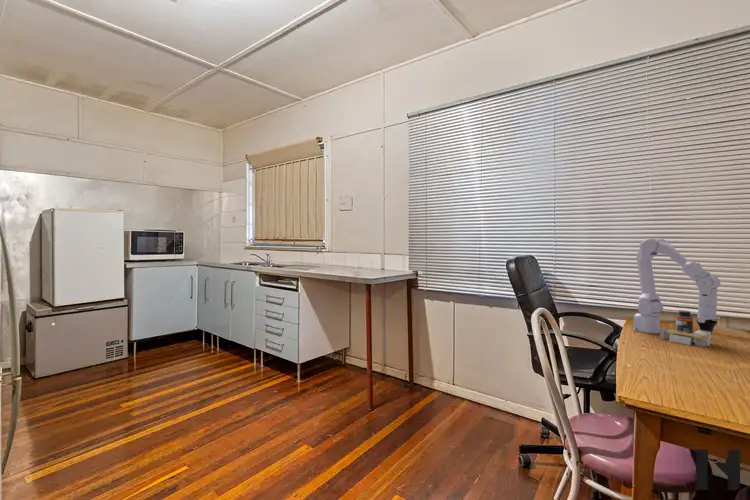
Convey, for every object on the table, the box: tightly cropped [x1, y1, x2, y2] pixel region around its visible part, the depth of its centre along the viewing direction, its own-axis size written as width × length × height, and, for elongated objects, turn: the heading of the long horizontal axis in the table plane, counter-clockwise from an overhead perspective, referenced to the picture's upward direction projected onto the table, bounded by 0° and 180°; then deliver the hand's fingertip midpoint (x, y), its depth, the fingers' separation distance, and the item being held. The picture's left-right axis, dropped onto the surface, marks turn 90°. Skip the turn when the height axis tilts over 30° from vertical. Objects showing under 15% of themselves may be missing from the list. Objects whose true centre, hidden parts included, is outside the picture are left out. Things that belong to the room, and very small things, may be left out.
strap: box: [665, 329, 704, 338], centre depth 160 cm, size 13×2×1 cm, turn 35°
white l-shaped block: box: [693, 329, 712, 347], centre depth 155 cm, size 4×7×5 cm, turn 125°
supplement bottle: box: [675, 309, 694, 334], centre depth 175 cm, size 6×6×11 cm
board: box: [659, 326, 707, 348], centre depth 160 cm, size 16×22×6 cm
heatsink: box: [668, 333, 696, 346], centre depth 160 cm, size 7×7×3 cm
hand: (706, 337), depth 159 cm, fingers closed
